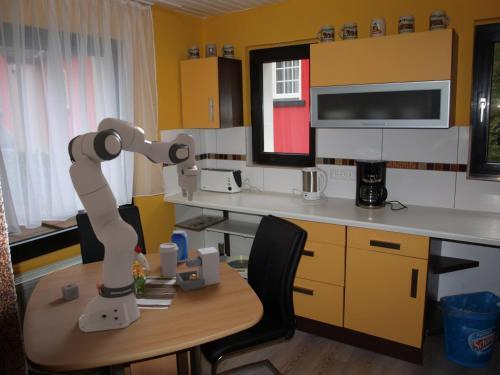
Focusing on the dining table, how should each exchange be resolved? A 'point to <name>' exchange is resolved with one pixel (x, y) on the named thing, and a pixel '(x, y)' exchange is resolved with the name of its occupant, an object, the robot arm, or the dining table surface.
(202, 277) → the block
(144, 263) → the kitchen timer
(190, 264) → the shaft
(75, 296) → the grey cube with hole
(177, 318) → the dining table surface
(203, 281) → the tray
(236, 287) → the dining table surface
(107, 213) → the robot arm
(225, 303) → the dining table surface
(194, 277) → the copper ball
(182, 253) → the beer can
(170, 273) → the coffee cup
